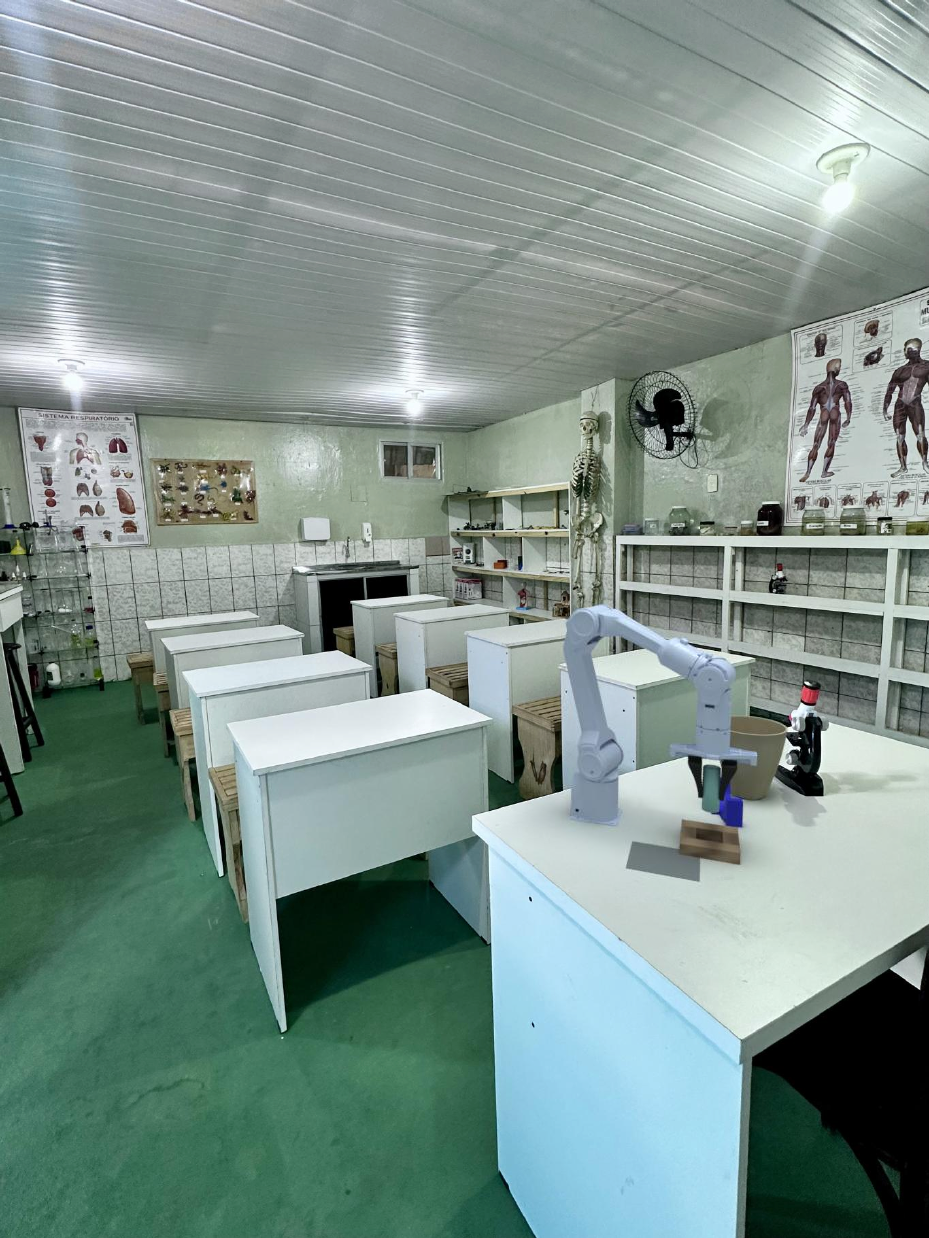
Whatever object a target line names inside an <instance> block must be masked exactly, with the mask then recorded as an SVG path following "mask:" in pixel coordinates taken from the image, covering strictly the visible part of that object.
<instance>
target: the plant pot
mask: <svg viewBox="0 0 929 1238" xmlns="http://www.w3.org/2000/svg"><path fill="white" fill-rule="evenodd" d="M788 731H789V730H788V727H787V726H786V725H784V724H783V723H781V722H779V721H776V720H773V719H768V718H763V717H758V716H753V715H752V716H750V715H749V716H748V715H731V729H730V747H731V748H736V749H741V750H746V751H752V752H756V753H757V766H753V765H750V764H746V763H737V771H736V773H735V774H734V776H733V777H732V779H731V781H730V789H731V795H734V796H735V797H736V798H742V799H746V800H760V799H763V798H764V797H766V795H767V793H768V790H769V789H770V787H771V785H772V783H773V780H774V778H775V775H776V773H777V771H778V767H779V765H780V761H781V759H782V755H783V753H784V752H783V751H784V747H785V743H786V739H787V736H788ZM719 763H720V764H719V765H720V767H721V766H722V761H719Z"/></svg>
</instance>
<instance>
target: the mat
mask: <svg viewBox="0 0 929 1238" xmlns="http://www.w3.org/2000/svg"><path fill="white" fill-rule="evenodd" d="M629 849H630V850H629V854H628V858H627V862H626V866H625V869H628V870H634V871H639V872H643V873H644V872H645V873H651V874H654V875H661V876H666V877H671V878H677V879H681V880H682V879H683V880H687V881H688V880H689V881H694V882H698V883H699V882H700V881H701V879H700V878H701V877H700V876H701V858H698V857H692V856H687V855H681V854H679V851H680V848H677V847H670V846H663V845H657V844H652V843H645V842H638V841H633V840H632V841H631V845H630V848H629Z"/></svg>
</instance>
